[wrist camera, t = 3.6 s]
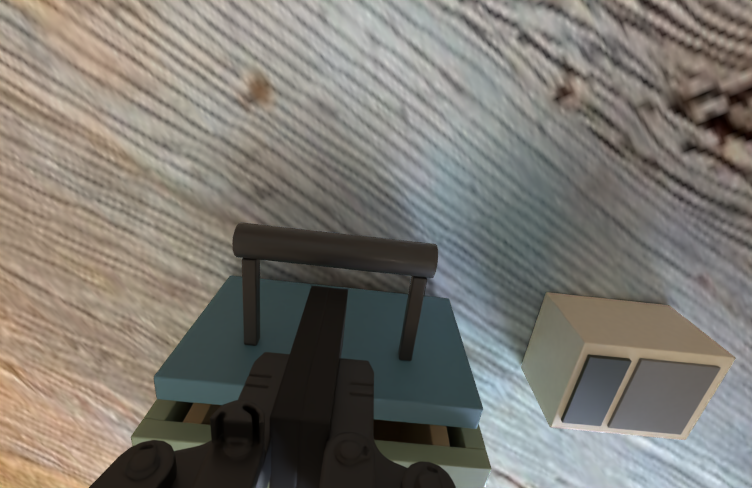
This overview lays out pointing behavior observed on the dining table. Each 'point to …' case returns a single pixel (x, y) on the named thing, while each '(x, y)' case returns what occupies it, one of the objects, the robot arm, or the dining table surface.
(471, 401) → the drawer
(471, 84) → the dining table surface
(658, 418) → the cream box
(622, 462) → the dining table surface
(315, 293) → the robot arm
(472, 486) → the cabinet
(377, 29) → the dining table surface
